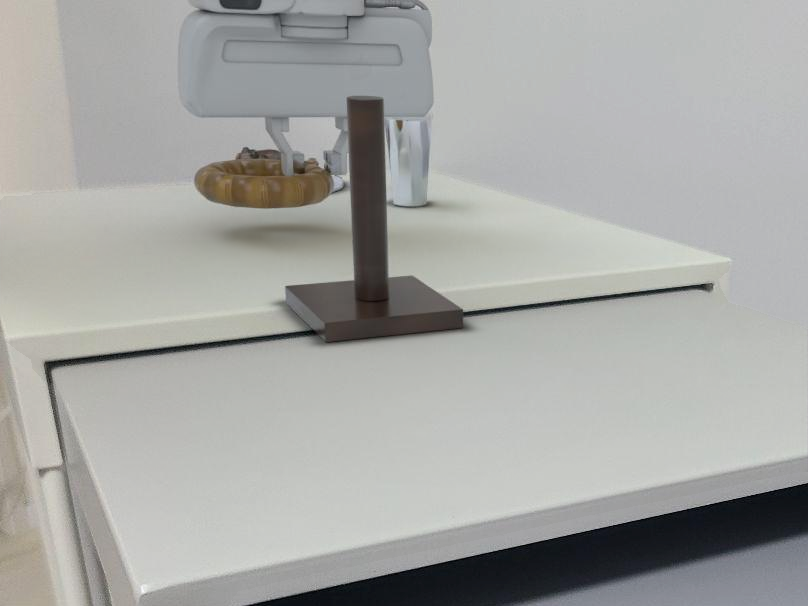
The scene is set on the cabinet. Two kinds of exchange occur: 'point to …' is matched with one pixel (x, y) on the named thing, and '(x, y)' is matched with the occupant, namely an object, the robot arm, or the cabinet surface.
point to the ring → (262, 184)
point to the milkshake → (409, 158)
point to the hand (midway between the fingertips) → (314, 174)
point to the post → (370, 255)
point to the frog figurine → (276, 155)
